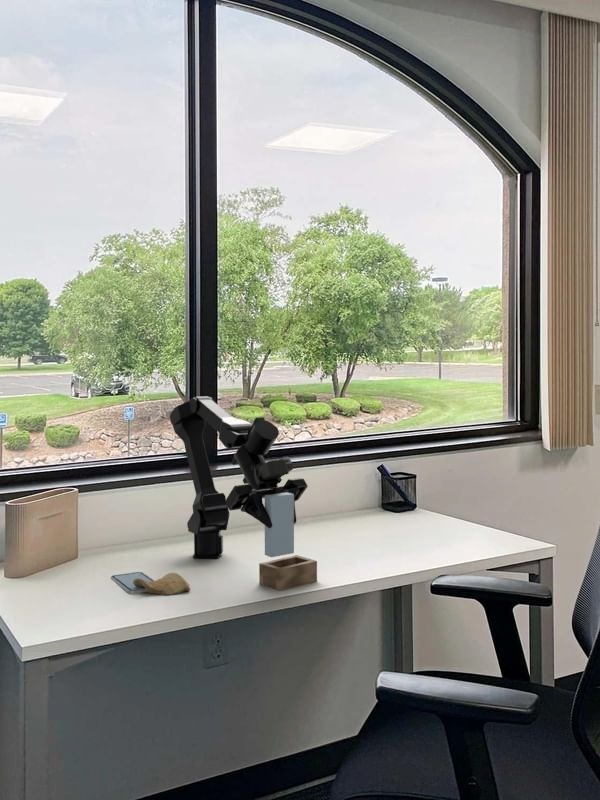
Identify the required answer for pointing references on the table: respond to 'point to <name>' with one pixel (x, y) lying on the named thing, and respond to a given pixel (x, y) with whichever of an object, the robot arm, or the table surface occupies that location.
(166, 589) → the brown tapered lumpy piece
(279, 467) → the robot arm
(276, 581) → the brown wooden open box
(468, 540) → the table surface
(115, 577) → the smartphone
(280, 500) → the slate card
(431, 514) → the table surface
